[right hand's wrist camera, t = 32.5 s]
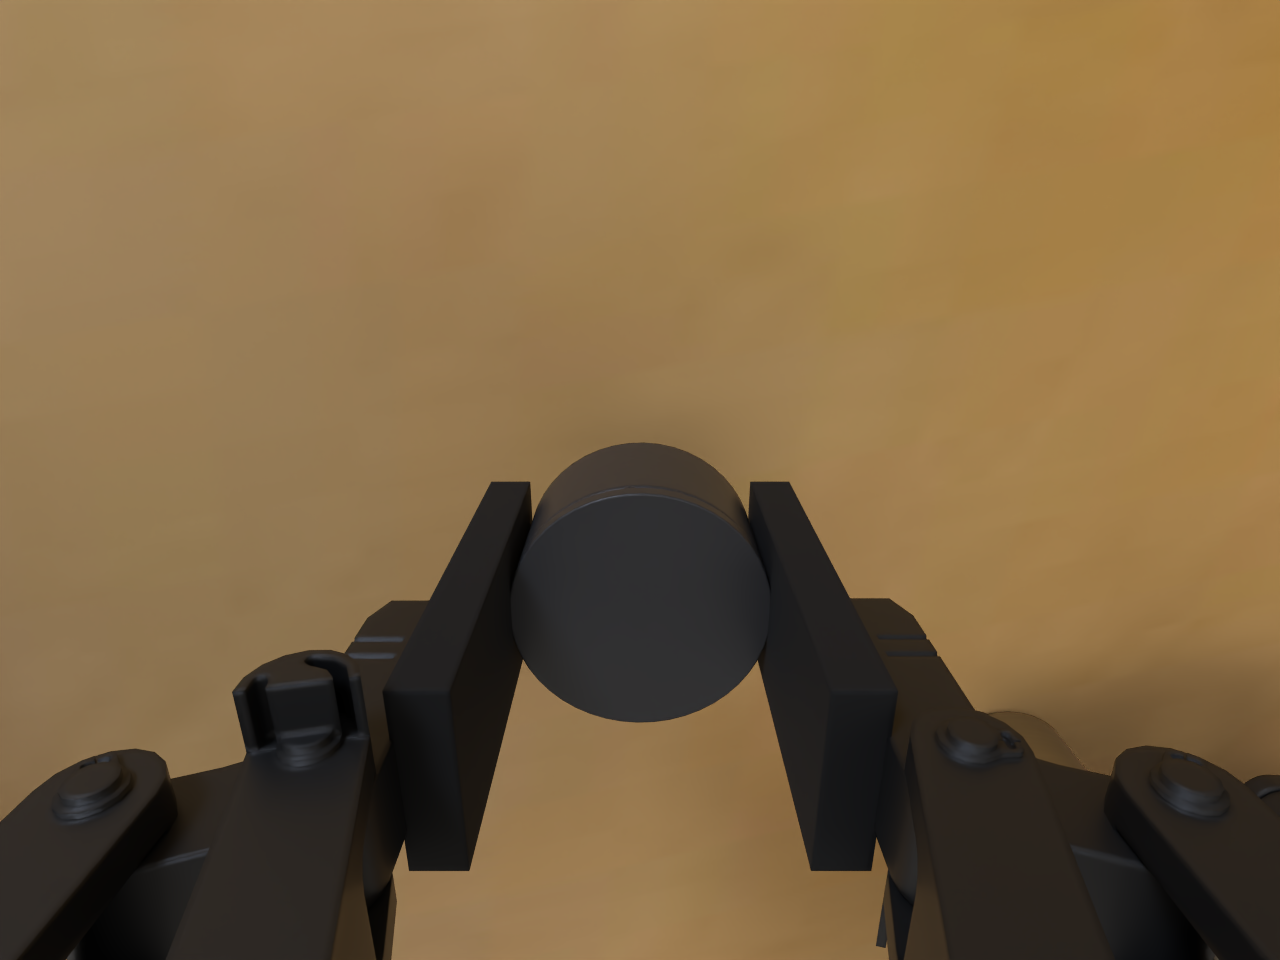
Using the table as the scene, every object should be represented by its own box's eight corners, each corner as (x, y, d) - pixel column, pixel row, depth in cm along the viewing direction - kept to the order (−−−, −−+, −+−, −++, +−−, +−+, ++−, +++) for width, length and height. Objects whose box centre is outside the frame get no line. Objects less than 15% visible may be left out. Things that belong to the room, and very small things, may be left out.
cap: (561, 413, 14) (543, 461, 11) (781, 476, 14) (811, 535, 12) (508, 610, 15) (483, 689, 13) (710, 661, 16) (722, 748, 13)
